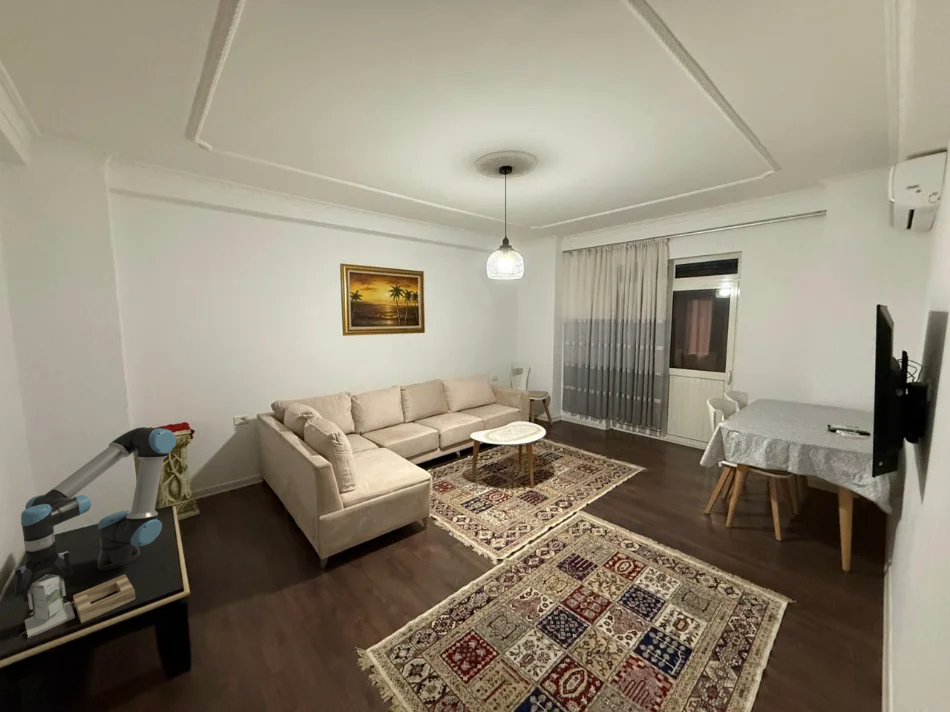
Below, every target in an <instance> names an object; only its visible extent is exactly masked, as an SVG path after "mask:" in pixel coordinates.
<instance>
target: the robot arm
mask: <svg viewBox="0 0 950 712" xmlns="http://www.w3.org/2000/svg"><path fill="white" fill-rule="evenodd" d="M176 437H177V436H176V435H175V433H174V432H173V431H172V430H170V429H164V428H160V427H159V428H156V427H136V428H133V429H131V430H129V431H127V432H125V433H123V434H121V435H120V436H118V437H117V438H115V439H114V440H112V441H111V442H110V443H108V447H107V448H106V449H104V450H103V451H102V452H100V453H99V454H97V455H96V456H94V458H92V459H91V460H90V461H88V462H87V463H85V464H84V465H83V466H82V467H80V468H79V469H77V470H76V471H75V472H73V473H72V474H71V475H69V476H68V477H67V478H65V479H64V480H62V481H61V482H60V483H59V484H57V485H56V486H54V487H52V489H51V490H49V491H48V492H46V493H45V494H40V495H36V496H33V497H32V498H30V499H29V500H28V501H27V502H26V503H25V506H24V507H25V508H24V509H25V510H23V511H22V512H21V514H20V515H21V516H20V524H21V528H22V529H21V530H22V534H23V535H22V536H23V542H24V548H25V549H24V550H25V557H26V559H25V560H26V562H25V564H24V565H22V566H21V567H20V566H19V567H16V568H14V573H15V575H16V576H15V577H16V578H15V584H14V585H15V587H14V596H15V597H18V596H22V599H23V603H28V606H29V611H30V610H33V605H32V597H31V591H30V587H31V584H32V583H34V582H33V581H34V580H35V577H36V576H37V574H38V573H39V572H41V571H43V570H47V569H50V568H51V570H53V571H54V572H56V574H57V575H60V578H61V586H62V595H63V597H65V596H67V594H66V587H67V586H69V583H70V582H69V577H71V576H73V575H74V574H75V571H74V568H73V566H72V565H71V562H70V560H69V555H70V554H69V553H70V552H69V551H68V550H65V551H63V552H60V553H59V552H57V545H56V542H55V541H56V537H55V529H54V527H55V526H57V525H59V524H61V523H64V522H67V521H68V520H70V519H73V518H75V517H78V516H81V515H82V514H85V513H86V512H89V511H90V509H91V507H92V501H91V499H90V498H89V496H88V495H85V494H80V495H77V494H78V493H80V492H81V491H82V490H83V489H85V488H86V487H87V486H88V485H90V484H91V483H92V482H93V481H95V480H96V479H98V477H100V476H101V475H103V474H104V473H105V472H106V471H107V470H109V469H110V468H111V467H113V466H114V465H115V464H116V463H118V462H119V461H120V460H121V459H123V458H127V457H129V456H130V455H131V454H134V453H136V452H137V454H136V458H137V459H138V460H140V462H139V467H138V472H137V477H136V483H135V489H134V494H133V499H132V500H133V501H132V505H131V510H121V511H117V512H114V513H111V514H108V515H107V516H105V517H102V518H100V519H99V521H98V525H97V526H98V527H97V529H98V534H99V545H100V552H99V555H98V559H97V562H96V564H97V570H99V571H109V570H115V569H119V568H122V567H124V566H127V565H128V564H131V563H133V562H134V561H135V560H137V559H138V558H139V557H140V555H141V550H140V547H143V546H147V545H150V544H151V543H152V542H154V541H155V540H156V538H158V537H159V535H160V533H161V532H162V528H163V523H162V521H161V520H159V519H158V515H159V513H158V511H157V510H156V505H157V499H158V494H159V493H158V492H159V487H160V480H161V476H162V468H163V464H164V463H163V462H164V460H165V459H166V458H168V456H169V453H171V452H172V451H173V449H175V447H176V446H177V438H176ZM76 495H77V496H76ZM139 546H140V547H139ZM138 556H139V557H138ZM137 557H138V558H137ZM58 558H60V560H61V559H62V560H63V562H64V564H65V566H66V569H67V571H68V572H66V571H64V570H63V569H62V568H61V567H60V566H59V565H58V564H57V563H56V561H57V560H58ZM136 558H137V559H136ZM130 562H131V563H130ZM126 564H127V565H126ZM26 569H28V570H30V573H29V575H28V577H27V579H26V582H25V584H24V586H23V589H22V581H23V580H22V579H23V573H25V570H26Z"/></svg>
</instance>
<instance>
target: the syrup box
mask: <svg viewBox="0 0 950 712" xmlns="http://www.w3.org/2000/svg"><path fill="white" fill-rule="evenodd" d="M61 578H62V577H61V576H60V575H59V574H45V575H43V576H42V577H41V578H39V579H38V580H35V581H34V582H32V584H31V587H30V589H29V590H30V591H31V597H32V605H33V609H32V613H33V617H34V618H35V619H49V618H50V617H52V616H53V615H54V614H56V613H57V612H59V611H60V610H61V609H63V608H64V604H65V602H64V596H63V595H62V586H61Z"/></svg>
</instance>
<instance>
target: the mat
mask: <svg viewBox="0 0 950 712" xmlns="http://www.w3.org/2000/svg"><path fill="white" fill-rule="evenodd" d="M73 619H76V615H75V613H74V610H73V608H72V604H71V602H70V601H67V602H64V608H63V609H61V610H60V611H59V612H57V613H56V614H54V615H53V616H52V617H50V618H49V619H35V618H34V616H31V617H30V618H27V619H25V620H24V624H25V629H26V635H28V636H27V638H28V639H30V638H32V637H31V636H33V637H35V636H36V635H39V634H41V633H44V632H46V631H48V630H50V629H53V628H54V627H57V626H60V625H62V624H64V623H66V622H68V621H71V620H73ZM34 635H35V636H34ZM29 637H30V638H29Z"/></svg>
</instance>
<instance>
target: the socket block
mask: <svg viewBox="0 0 950 712" xmlns="http://www.w3.org/2000/svg"><path fill="white" fill-rule="evenodd" d="M115 592H116V593H115ZM112 593H114V594H112ZM110 594H112V595H110ZM108 595H110V596H108ZM106 596H107V597H106ZM104 597H105V598H104ZM72 598H73V599H72V600H73V605H74V607H75V611H76V613H77V616H78V619H79V621H80V624H83V623H86V622H87V621H90V620H92V619H94V618H97V617H99V616H101V615H103V614H105V613H108V612H110V611H113V610H114V609H117V608H119V607H121V606H123V605H125V604H127V603H129V602H131V601H134V600H135V599H136V590H135V588H134V586H133V585H132V584H131V582H130V580H129V578H128V577H127V575H126V574H121V575H120V576H118V577H115V578H112V579H110V580H108V581H105V582H103V583H101V584H97V585H95V586H93V587H91V588H88V589H86V590H83V591H81V592H79V593H76V594H74V595H73V596H72ZM101 598H103V599H101ZM98 599H100V600H98ZM97 600H98V601H97ZM94 601H96V602H94ZM92 602H93V603H92Z"/></svg>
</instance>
